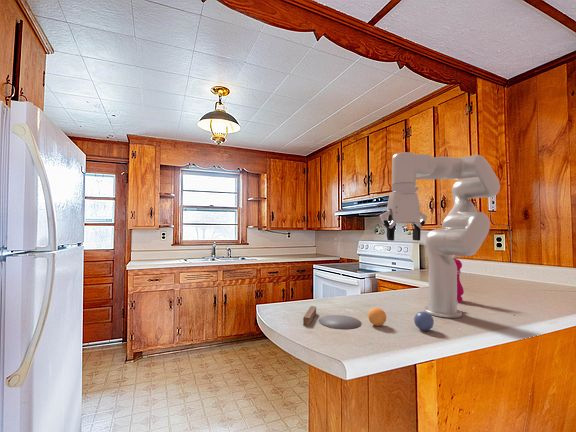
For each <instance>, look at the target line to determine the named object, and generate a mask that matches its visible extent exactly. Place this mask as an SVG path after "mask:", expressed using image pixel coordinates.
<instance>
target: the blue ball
mask: <svg viewBox="0 0 576 432" xmlns="http://www.w3.org/2000/svg"><path fill="white" fill-rule="evenodd" d="M413 321H414V325H415V326H416V327H417V328H418V329H420V330H421V331H429V330H431V329H432V328H433V327H434V324H435V320H434V318H433V315H431V314H429V313H427V312H425V311H419V312H417V313H416V314H414V319H413Z"/></svg>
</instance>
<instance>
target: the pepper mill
mask: <svg viewBox="0 0 576 432" xmlns="http://www.w3.org/2000/svg"><path fill="white" fill-rule="evenodd" d="M451 256H452V258H453V259H454V261H455V263H456V266H457V301H458V303H462V302H463V297H462V295H464V292H465V291H464V287H463V285H462V282H461V281H460V279H461V277H460V275H461V269H462V267H463V264H462V261H461V260H459V259H457V257H458V256H457V255H451Z"/></svg>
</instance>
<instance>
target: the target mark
mask: <svg viewBox="0 0 576 432" xmlns="http://www.w3.org/2000/svg"><path fill="white" fill-rule="evenodd" d="M318 323H319V324H321V325H322V326H324V327H326V328H331V329H337V330H350V329H357V328H359V327H361V326H362V322H361V320H359V319H358V318H356V317H353V316H349V315H343V314H329V315H328V314H327V315H325V316H324V315H323V316H321V317H320V318H318Z"/></svg>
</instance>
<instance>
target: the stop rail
mask: <svg viewBox="0 0 576 432" xmlns="http://www.w3.org/2000/svg"><path fill="white" fill-rule="evenodd" d="M316 315H317V306H313V305H311V306H310V307H309V308H308V310H307V311H306V312H305V314H304V315H303V317H302V319H303V321H302V324H303V326H307V327H310V325H311V323H312V321H313V320H314V318H315V316H316Z"/></svg>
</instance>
